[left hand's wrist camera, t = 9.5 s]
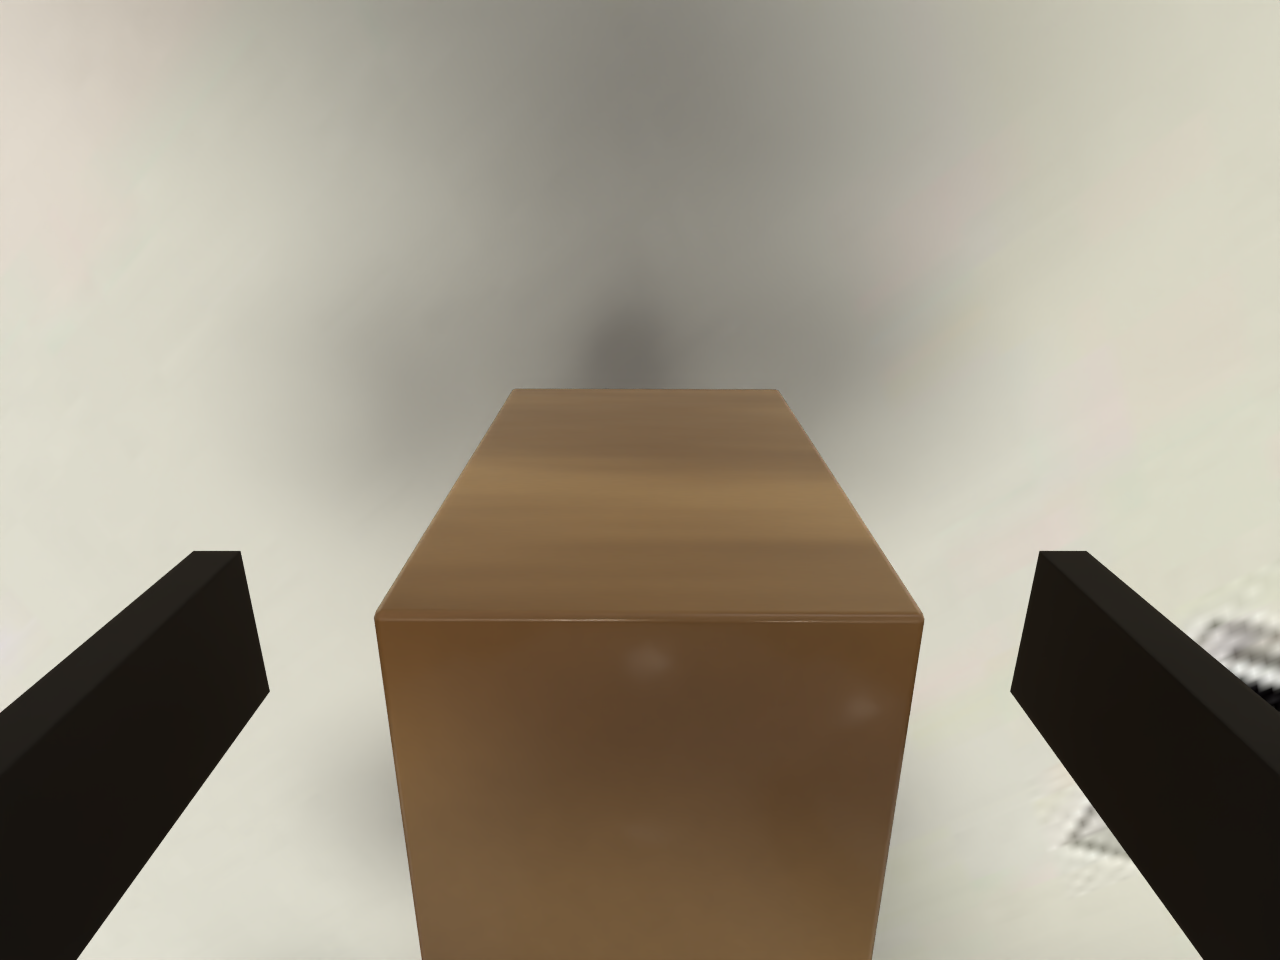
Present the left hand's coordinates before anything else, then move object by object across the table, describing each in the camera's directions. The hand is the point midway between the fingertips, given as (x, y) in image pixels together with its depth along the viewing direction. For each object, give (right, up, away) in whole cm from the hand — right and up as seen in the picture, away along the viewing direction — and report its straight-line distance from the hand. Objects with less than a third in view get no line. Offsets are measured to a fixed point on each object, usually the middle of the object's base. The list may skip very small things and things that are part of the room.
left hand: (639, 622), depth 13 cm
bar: (0, -7, +5) cm, 9 cm away
